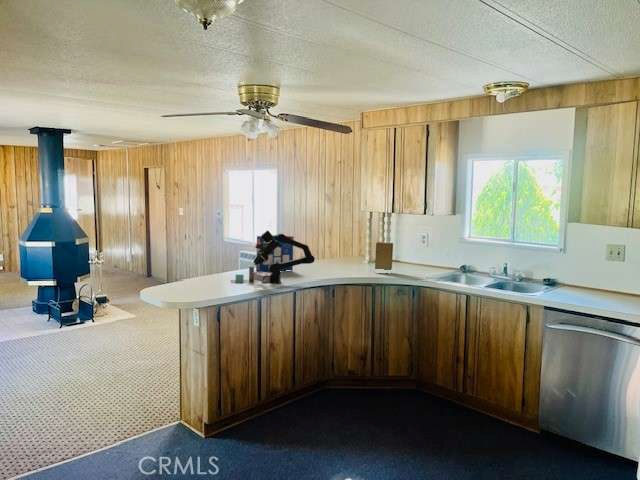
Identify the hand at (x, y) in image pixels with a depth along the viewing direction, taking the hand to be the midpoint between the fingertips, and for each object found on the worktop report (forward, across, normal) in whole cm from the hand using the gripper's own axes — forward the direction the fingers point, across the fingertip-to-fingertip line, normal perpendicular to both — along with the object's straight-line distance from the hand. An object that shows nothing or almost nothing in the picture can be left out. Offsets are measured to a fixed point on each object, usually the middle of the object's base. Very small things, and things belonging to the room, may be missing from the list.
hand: (254, 263), depth 326 cm
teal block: (+16, 0, +2) cm, 16 cm away
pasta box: (-4, -50, +24) cm, 55 cm away
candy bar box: (+6, -18, +10) cm, 21 cm away
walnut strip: (+14, 0, +5) cm, 15 cm away
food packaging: (-67, -42, +87) cm, 118 cm away
